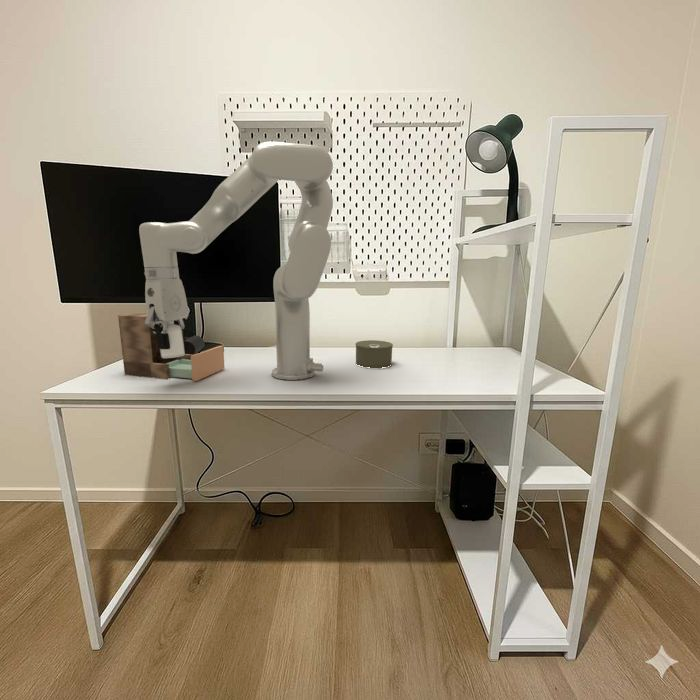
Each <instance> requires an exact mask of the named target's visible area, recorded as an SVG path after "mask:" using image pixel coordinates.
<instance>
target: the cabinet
mask: <svg viewBox="0 0 700 700" xmlns="http://www.w3.org/2000/svg"><path fill="white" fill-rule="evenodd" d="M146 318H147V310H146V311H138V312H132V313H124V314H119V315H117V319H118V328H119V336H120V345H121V354H122V355H121V356H122V362H123V369H124V370H123V371H124V375H126V376H131V375H132V376H133V377H134V376H135V377H142V376H143V377H144V378H152V377H155V378H154V379H162V378H166V379H165V380H169V379H171V376H170V373H169V364H166V363H169V362H172V361H175V360H182V359H186V360H191V355H192V354H185V355H184V356H181V357H175V358H162V357H161V352H160V349H158V345H157V338H156V334H155V333H154V332H153V330H152V329H151V328H150V327H149V326H148V325H146V324H145V320H146ZM160 321H162V320H160ZM176 322H177V321H176ZM159 326H160V327H161V324H159ZM168 378H169V379H168Z"/></svg>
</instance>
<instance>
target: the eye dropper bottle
mask: <svg viewBox="0 0 700 700" xmlns="http://www.w3.org/2000/svg"><path fill="white" fill-rule="evenodd" d="M173 323H174V321H169V322H167V327H166V333H168V335H169V342H170V349H160V352H161V357H162V358H175V357H181V356H184V355H185V351H184V344H183V336H182V329H181V327H180V326H179V325H175V324H173Z"/></svg>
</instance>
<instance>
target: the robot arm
mask: <svg viewBox="0 0 700 700" xmlns="http://www.w3.org/2000/svg"><path fill="white" fill-rule="evenodd" d="M333 163H334V162H333V159H332V157H331V155H330V153H329V152H328V151H327V150H326V149H324V148H323V147H321V146H319V145H314V144H306V143H305V144H304V143H293V142H286V141H285V142H283V141H272V140H271V141H263V142H260V143H258V144H257V145H256V146H255V147H254V148H253V151H252V153H251V155H250V156H249V157H248V158H246V160H244V162H243V163H241V164H240V165H239V166H238V167H237V168H236V169H235V170H234V171H233V172H232V173H231V174H230V175H229V176H227V178H225V179H224V180H223V181H222V182H221V183H220V184H218V186H217V187H216V188H215V190H214V191H213V193H212V195H211V197H210V198H209V200H208V201H207V202H206V203H205V204H204V205H203V207H202V208H201V209H200V210H198V212H197V213H196V214H195V215H193V217H192V218H190V219H189V220H186V221H185V220H184V221H177V222H168V223H167V222H159V221H158V222H156V221H153V222H152V221H150V222H149V221H148V222H143V223H141V224H140V225H139V229H138V231H139V232H138V234H139V239H140V247H141V254H142V260H143V266H144V272H143V274H144V276H145V283H144V284H145V286H144V287H145V288H144V289H145V291H144V296H145V297H144V298H145V299H144V300H145V307H146V311H147V318H146V320H145V324H146V325H148V326H149V327H150V328H151V329H152V330H153V332H154V333H155V334H156V338H157V345H158V349H170V342H169V335H168V333H166V327H167V322H169V321H174V323H173V324H175V325H179V326H180V327H181V329H182V336H183V344H185V339H184V337H185V332H184V329H185V327H186V326H185V324H186V322H187V319H188V318H189V315H190V313H189V306H188V300H187V296H186V291H185V287H184V285H183V281H182V279H180V273H179V267H178V258H177V257H178V256H177V253H178V252H180V253H188V254H192V255H194V254H199V253H201V252H202V251H204V250H205V249H206V248H207V247H208V246H209V245H210V244H211V243H212V242H213V241H214V240H216V238H217V237H218V236H220V234H221V233H222V232H224V231H225V230H226V229H227V228H228V227H229V226H230V225H231V224H232V223H234V222H236V221H237V220H238V219H239V218H240V217H241V216H243V215H244V214H245V213H246V212H247V211H248V210H249V209H250V208H251V207H252V206H253V205H254V204H255V203H256V202H258V200H259V199H260V198H261V197H263V195H265V194H266V193H267V192H268V191H269V190H270V189H271V188H272V187H274V185H275V184H276V183H277V182H278V181H280V180H282V181H288V182H289V181H290V182H294V183H295V184H296V186H297V188H298V190H299V191H300V194H301V204H300V207H299V210H298V215H297V217H296V219H295V223H294V225H293V228H292V231H291V233H290V235H289V237H288V248H289V249H288V250H289V256H288V258H287V262H286V263H285V264H282V265H281V266H280V267H279V268H277V270H276V271H275V273H274V276H273V280H272V281H273V283H272V284H273V286H272V288H273V295H274V296H273V297H274V307H275V310H274V311H275V341H276V342H275V343H276V344H275V345H276V348H275V349H276V350H275V351H276V367H275V368H273V369H272V370H271V376H272V377H273V378H275V379H279V380H284V379H285V381H287V380H289V381H299V380H305V379H309V377H310V378H312V377H314V376H315V375H316V372H321V373H322V372H323V371H324V368H325V367H324V364H322V363H319V362H318V363H317V362H316V363H315V362H314V358H313V357H311V343H310V342H311V339H310V337H311V336H310V335H311V331H310V330H311V329H310V327H311V326H310V321H311V317H310V316H311V313H310V301H309V299H310V298H311V297H312V296H313V295H314V294H315V293H316V291H317V289H318V286H319V284H320V282H321V279H322V276H323V273H324V270H325V267H326V264H327V262H328V260H329V257H330V253H331V249H332V239H331V235H330V233H329V231H328V227H329V223H330V219H331V217H332V216H331V215H332V211H333V206H334V205H333V204H334V200H333V199H334V198H333V194H332V191H331V187H330V184H329V183H328V179H329V178H330V177H331V175H332V173H333V169H334V164H333ZM160 320H162V321H160ZM176 321H177V322H176ZM159 324H161V327H160V326H159ZM298 379H299V380H298Z"/></svg>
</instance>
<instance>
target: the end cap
mask: <svg viewBox="0 0 700 700" xmlns="http://www.w3.org/2000/svg"><path fill="white" fill-rule="evenodd" d="M184 339H185V344H184V351H185V354H192V355H194V354H197V353H198V352H199V351H200V350H201V349H202V348H203V347H204V348H205V345H206V344H205V341H204V339H203V338H202V337H201V336H200V335H198V334H197V335H193V336H184ZM204 348H203V349H204Z"/></svg>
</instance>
